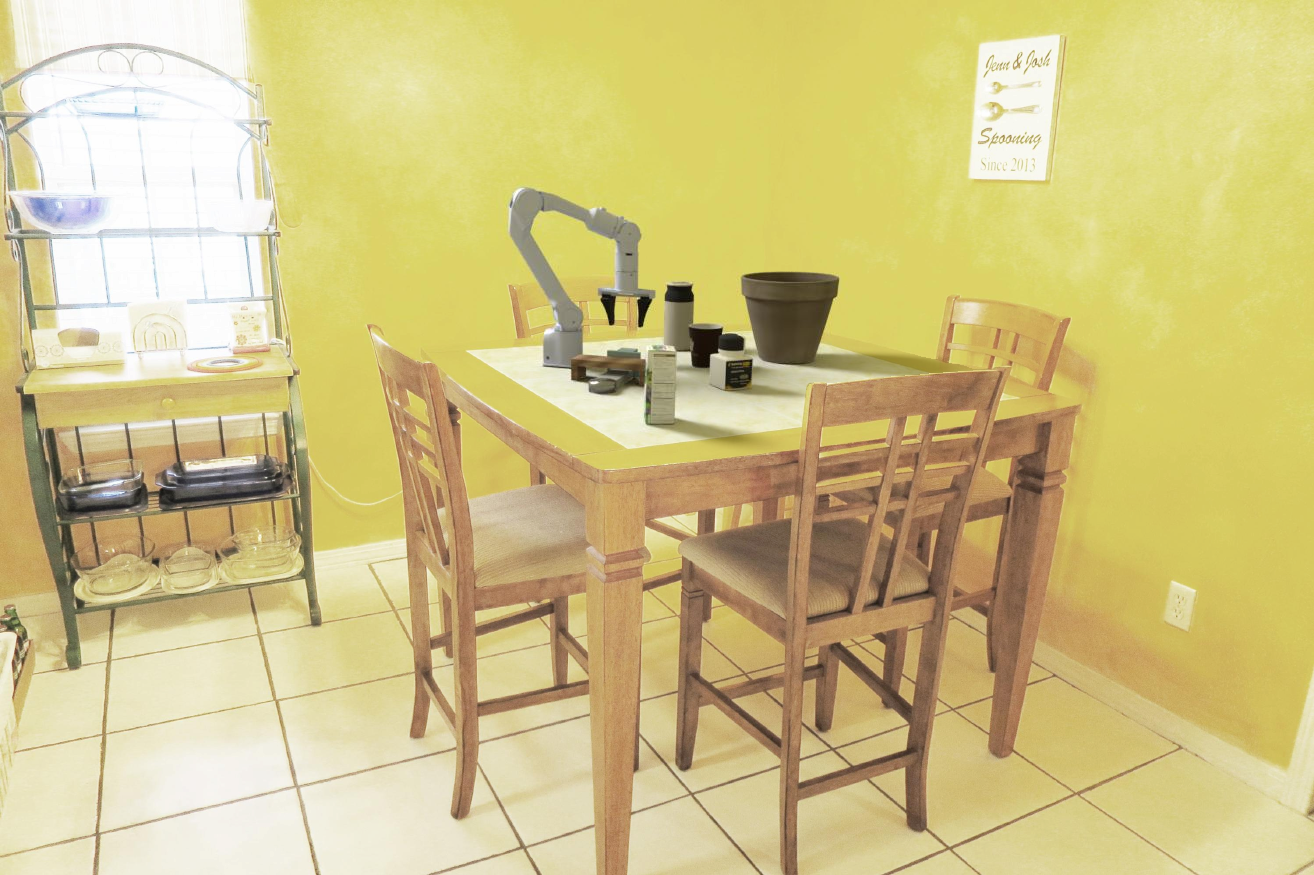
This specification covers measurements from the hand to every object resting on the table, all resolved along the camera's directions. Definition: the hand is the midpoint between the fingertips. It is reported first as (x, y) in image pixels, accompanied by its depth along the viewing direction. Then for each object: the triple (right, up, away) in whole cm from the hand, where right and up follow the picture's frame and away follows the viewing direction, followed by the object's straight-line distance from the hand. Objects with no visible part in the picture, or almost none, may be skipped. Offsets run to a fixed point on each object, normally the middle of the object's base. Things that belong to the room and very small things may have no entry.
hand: (626, 326), depth 228 cm
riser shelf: (-3, -15, -17) cm, 23 cm away
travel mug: (+14, -4, +23) cm, 27 cm away
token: (-4, -18, -27) cm, 32 cm away
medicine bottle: (+24, -16, -20) cm, 36 cm away
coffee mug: (+20, -10, +3) cm, 22 cm away
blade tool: (-1, -15, -16) cm, 22 cm away
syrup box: (+8, -25, -50) cm, 56 cm away
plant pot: (+41, -7, +12) cm, 44 cm away
